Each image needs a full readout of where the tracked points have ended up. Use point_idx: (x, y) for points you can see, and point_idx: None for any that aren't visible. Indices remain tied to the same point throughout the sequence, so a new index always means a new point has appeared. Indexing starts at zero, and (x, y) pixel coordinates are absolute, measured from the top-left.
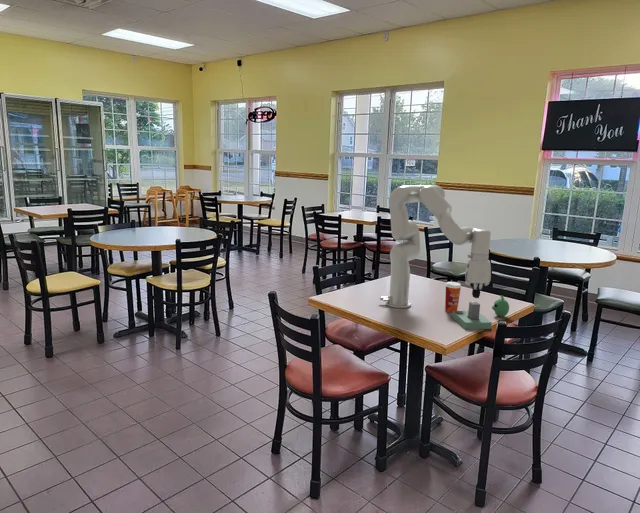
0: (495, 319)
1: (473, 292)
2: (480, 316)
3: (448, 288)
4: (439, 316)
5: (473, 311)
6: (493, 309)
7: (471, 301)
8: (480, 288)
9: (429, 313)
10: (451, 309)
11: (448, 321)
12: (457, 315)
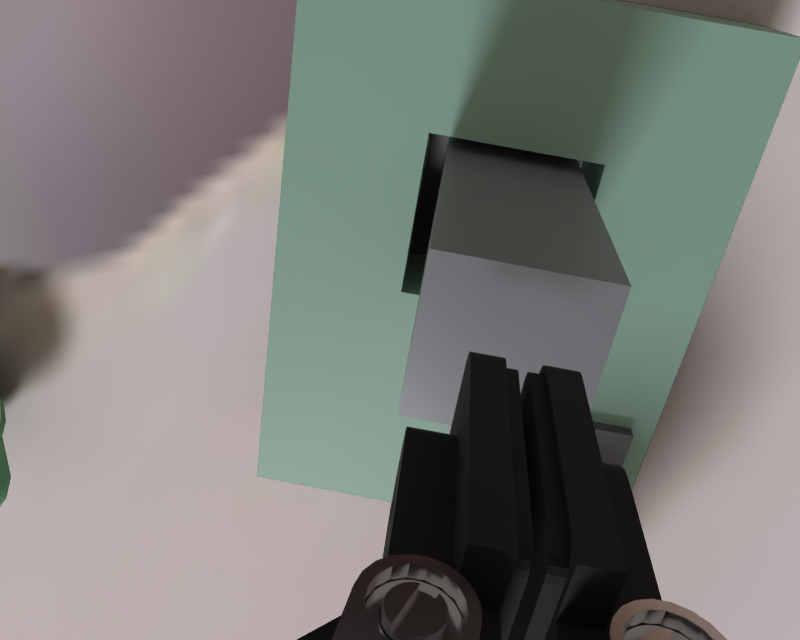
0: (67, 301)
1: (632, 551)
2: (333, 270)
3: None
4: (742, 531)
5: (566, 218)
6: (3, 458)
7: None
8: (408, 601)
9: (787, 629)
10: None
11: (764, 364)
12: (673, 380)
